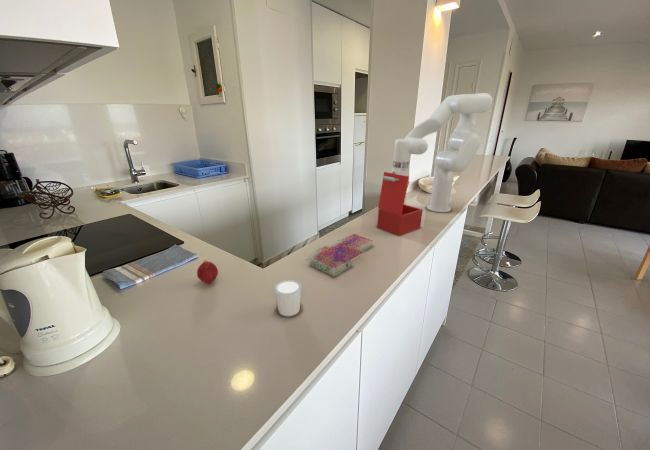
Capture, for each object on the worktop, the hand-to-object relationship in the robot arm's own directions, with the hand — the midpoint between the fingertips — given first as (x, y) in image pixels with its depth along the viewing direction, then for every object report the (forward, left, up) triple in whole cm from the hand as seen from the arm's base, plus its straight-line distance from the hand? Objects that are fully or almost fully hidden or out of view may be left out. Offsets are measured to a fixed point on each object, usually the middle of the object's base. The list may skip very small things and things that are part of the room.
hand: (397, 199), depth 143 cm
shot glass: (+85, +33, -9) cm, 92 cm away
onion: (+98, +7, -9) cm, 99 cm away
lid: (+20, +13, +9) cm, 26 cm away
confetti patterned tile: (+53, +19, -9) cm, 57 cm away
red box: (+14, +13, -8) cm, 21 cm away
